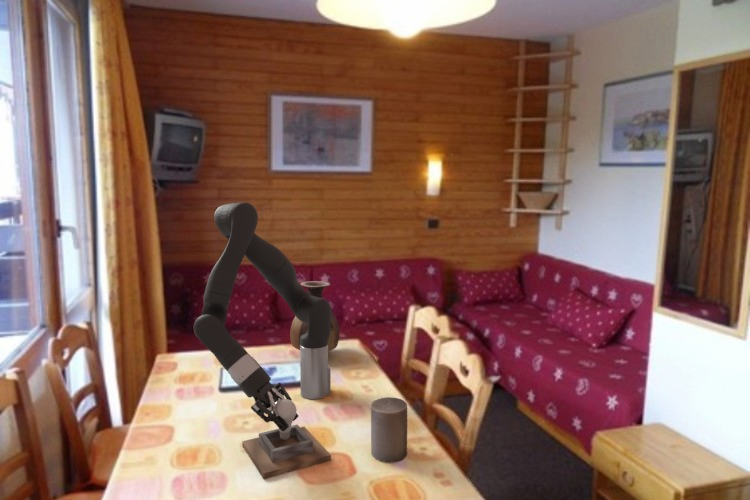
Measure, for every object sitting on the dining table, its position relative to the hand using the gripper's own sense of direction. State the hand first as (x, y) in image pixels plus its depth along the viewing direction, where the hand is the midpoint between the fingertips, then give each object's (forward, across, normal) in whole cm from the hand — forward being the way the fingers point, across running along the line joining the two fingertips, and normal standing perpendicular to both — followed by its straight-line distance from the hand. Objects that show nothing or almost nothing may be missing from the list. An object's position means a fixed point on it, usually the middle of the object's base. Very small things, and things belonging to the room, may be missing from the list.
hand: (291, 423), depth 143 cm
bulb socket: (+5, 0, +7) cm, 9 cm away
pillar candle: (+23, +8, -11) cm, 27 cm away
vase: (-9, +73, +22) cm, 77 cm away
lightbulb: (+2, 0, +5) cm, 5 cm away
